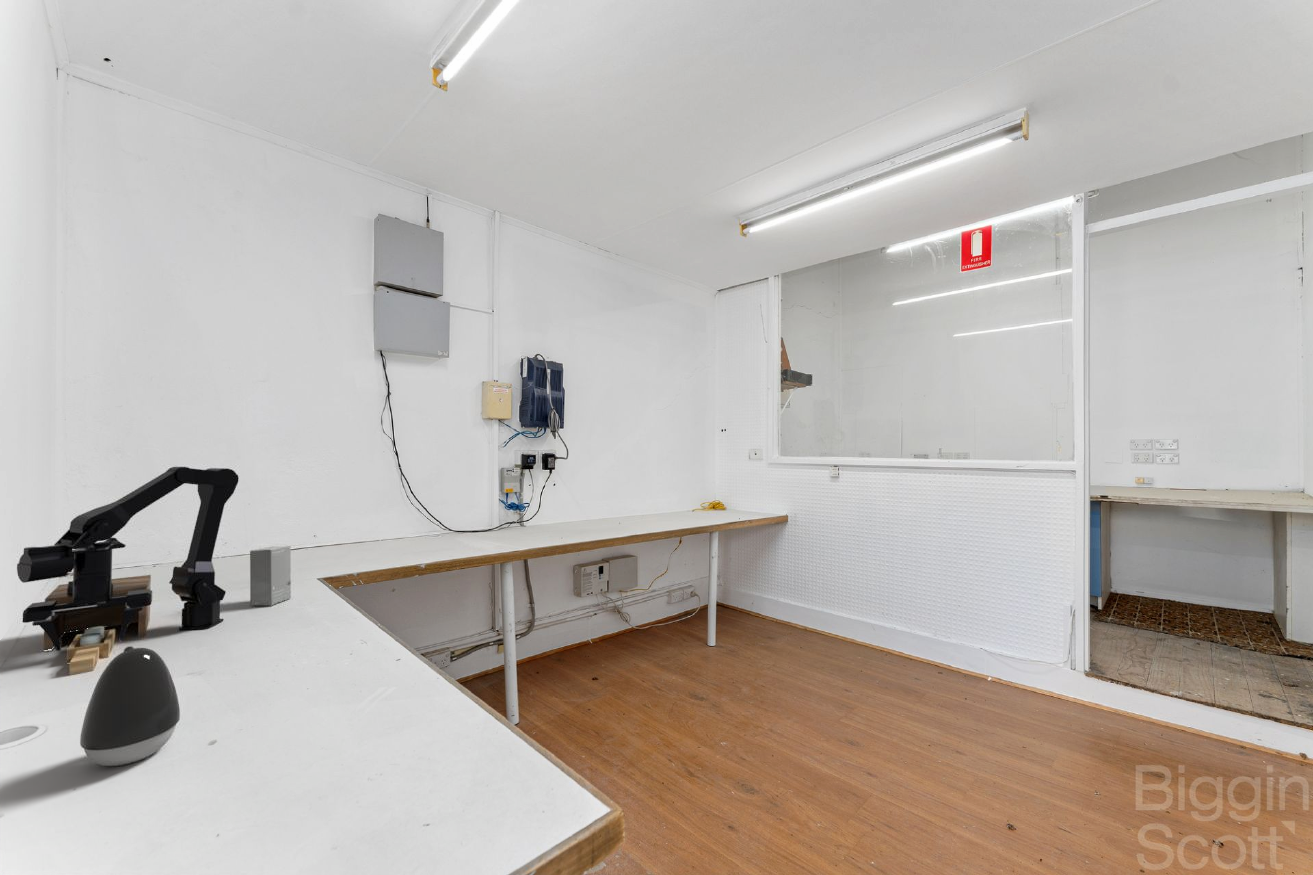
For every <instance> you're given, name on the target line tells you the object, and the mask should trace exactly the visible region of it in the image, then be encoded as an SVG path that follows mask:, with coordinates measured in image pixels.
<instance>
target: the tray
mask: <svg viewBox="0 0 1313 875" xmlns="http://www.w3.org/2000/svg"><path fill="white" fill-rule="evenodd" d="M115 642H116V628H112V629H105V627H104V626H98V627H92V628H88V629H85V630H84V633H80V634H76V635H75V637H74V638H73V640H72V642H70V644H69V646H68V648H67V649H66V664H67V663H70V664H69V676H73V675H79V674H84V673H88V672H87V671H90V672H93V671H94V670H95V669H96V666H97V664H98V662H99V660H100V659H99V658H102V659H105V658H106V659H107V658H109V657H110V654H111V653H112V650H113V648H114V645H115V644H116V643H115ZM98 659H99V660H98Z"/></svg>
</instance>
